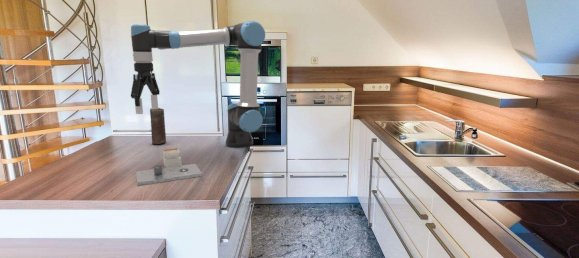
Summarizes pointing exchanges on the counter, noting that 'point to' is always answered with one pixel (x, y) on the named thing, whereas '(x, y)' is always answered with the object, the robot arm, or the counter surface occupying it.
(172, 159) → the knob
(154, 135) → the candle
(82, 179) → the counter surface
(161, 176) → the panel
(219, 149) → the counter surface
